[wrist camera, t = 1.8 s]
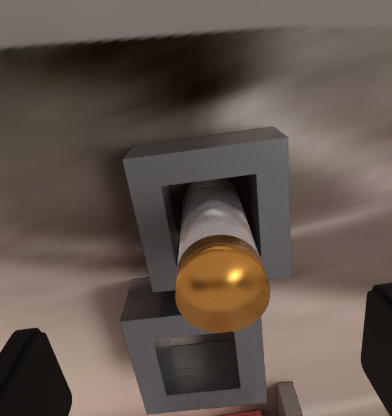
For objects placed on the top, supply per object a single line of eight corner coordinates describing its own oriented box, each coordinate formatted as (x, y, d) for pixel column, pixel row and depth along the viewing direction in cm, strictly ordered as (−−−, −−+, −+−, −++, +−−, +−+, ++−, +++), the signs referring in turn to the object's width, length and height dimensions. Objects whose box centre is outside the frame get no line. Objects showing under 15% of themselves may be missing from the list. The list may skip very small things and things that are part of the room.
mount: (273, 126, 18) (287, 137, 15) (278, 249, 21) (291, 277, 18) (133, 145, 18) (122, 159, 16) (158, 264, 22) (153, 292, 19)
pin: (236, 171, 19) (267, 250, 11) (240, 222, 20) (272, 327, 12) (179, 178, 19) (167, 262, 11) (187, 229, 21) (182, 337, 12)
